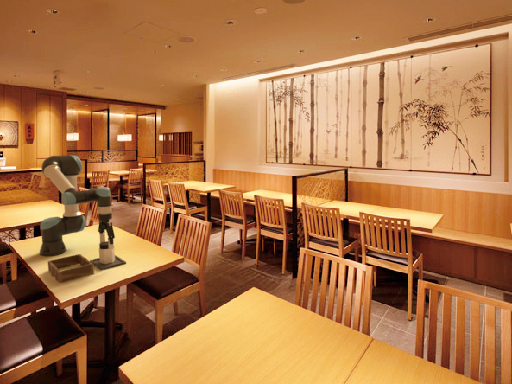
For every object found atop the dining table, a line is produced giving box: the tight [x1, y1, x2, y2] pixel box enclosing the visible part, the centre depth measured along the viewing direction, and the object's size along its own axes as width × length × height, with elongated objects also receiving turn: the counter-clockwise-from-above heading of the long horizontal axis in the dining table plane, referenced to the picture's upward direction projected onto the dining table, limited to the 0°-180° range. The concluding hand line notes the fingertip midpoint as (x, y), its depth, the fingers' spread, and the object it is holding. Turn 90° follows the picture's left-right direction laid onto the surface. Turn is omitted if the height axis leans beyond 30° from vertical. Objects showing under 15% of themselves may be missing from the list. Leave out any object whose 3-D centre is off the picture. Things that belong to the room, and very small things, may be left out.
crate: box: [47, 253, 95, 284], centre depth 188 cm, size 22×17×6 cm
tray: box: [89, 254, 127, 271], centre depth 203 cm, size 18×15×1 cm
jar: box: [98, 240, 116, 264], centre depth 202 cm, size 9×8×12 cm
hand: (106, 246), depth 201 cm, fingers open, 13 cm apart
